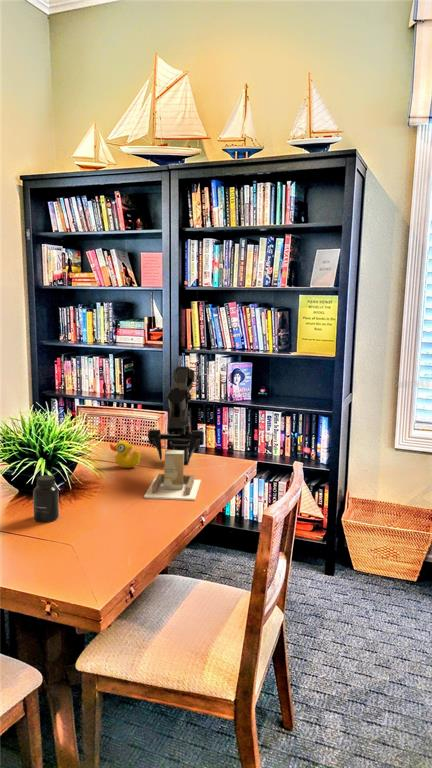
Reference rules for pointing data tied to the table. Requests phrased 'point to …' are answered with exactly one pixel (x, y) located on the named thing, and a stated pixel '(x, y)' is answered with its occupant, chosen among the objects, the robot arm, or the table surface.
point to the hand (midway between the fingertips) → (174, 459)
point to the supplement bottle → (46, 499)
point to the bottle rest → (186, 493)
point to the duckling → (125, 455)
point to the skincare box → (173, 469)
